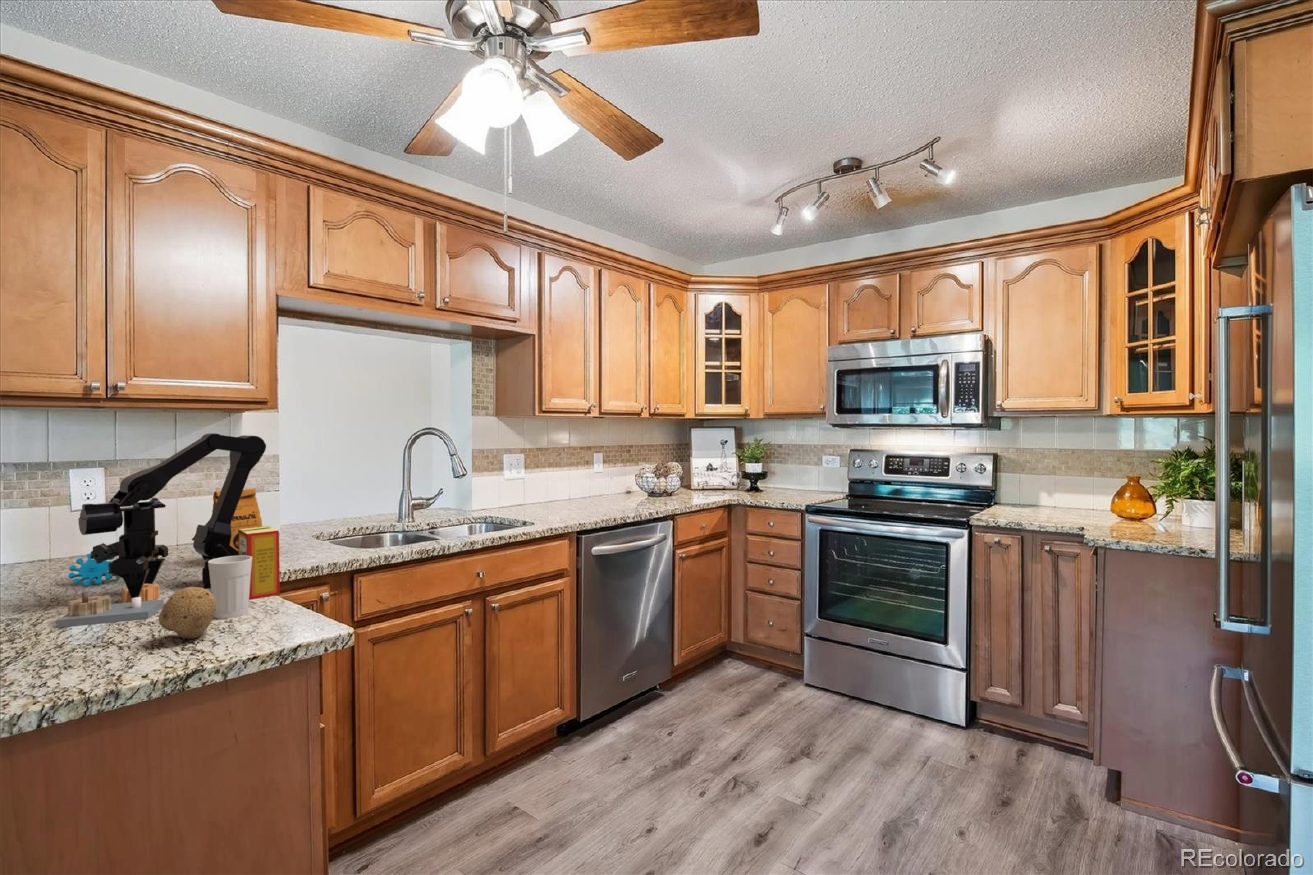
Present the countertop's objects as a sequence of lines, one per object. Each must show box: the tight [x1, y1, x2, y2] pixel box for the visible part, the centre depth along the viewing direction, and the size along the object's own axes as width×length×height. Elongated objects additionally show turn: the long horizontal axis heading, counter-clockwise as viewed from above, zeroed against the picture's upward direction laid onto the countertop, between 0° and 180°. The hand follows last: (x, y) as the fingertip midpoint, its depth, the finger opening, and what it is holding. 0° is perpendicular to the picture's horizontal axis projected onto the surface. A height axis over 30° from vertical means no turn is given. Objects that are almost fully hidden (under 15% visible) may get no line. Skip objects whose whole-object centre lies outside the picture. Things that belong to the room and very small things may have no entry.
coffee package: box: [211, 487, 263, 551], centre depth 185 cm, size 10×12×22 cm
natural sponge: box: [158, 586, 217, 639], centre depth 122 cm, size 9×9×10 cm
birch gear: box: [67, 591, 112, 616], centre depth 134 cm, size 7×7×4 cm
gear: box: [68, 553, 122, 587], centre depth 165 cm, size 11×6×10 cm
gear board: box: [56, 597, 165, 628], centre depth 136 cm, size 15×10×4 cm, turn 113°
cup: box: [208, 556, 252, 619], centre depth 137 cm, size 8×8×12 cm
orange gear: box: [121, 582, 161, 603], centre depth 148 cm, size 7×7×3 cm
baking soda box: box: [238, 525, 281, 601], centre depth 154 cm, size 10×6×16 cm
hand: (141, 594), depth 148 cm, fingers open, 7 cm apart
